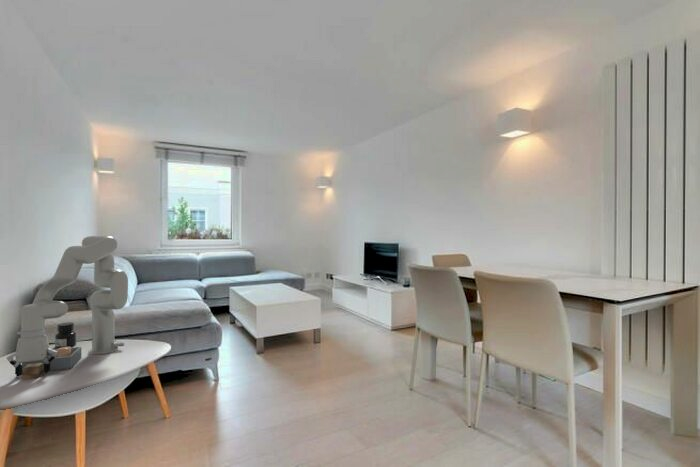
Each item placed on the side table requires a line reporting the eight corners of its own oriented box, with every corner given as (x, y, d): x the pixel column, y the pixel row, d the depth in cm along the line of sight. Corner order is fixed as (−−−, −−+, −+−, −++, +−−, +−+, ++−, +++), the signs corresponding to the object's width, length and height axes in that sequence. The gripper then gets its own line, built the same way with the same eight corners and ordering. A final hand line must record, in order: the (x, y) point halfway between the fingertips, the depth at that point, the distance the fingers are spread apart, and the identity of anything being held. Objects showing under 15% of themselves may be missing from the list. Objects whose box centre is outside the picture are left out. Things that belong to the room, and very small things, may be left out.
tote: (81, 358, 172) (81, 346, 172) (71, 368, 159) (71, 356, 159) (36, 362, 165) (36, 351, 165) (21, 374, 152) (21, 361, 152)
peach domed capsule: (72, 360, 167) (72, 346, 167) (68, 364, 162) (68, 349, 162) (59, 362, 165) (59, 347, 165) (55, 365, 160) (55, 350, 160)
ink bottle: (51, 347, 188) (51, 324, 188) (70, 342, 196) (70, 321, 196) (60, 349, 184) (60, 327, 184) (79, 345, 191) (79, 323, 191)
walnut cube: (43, 374, 153) (43, 362, 153) (38, 378, 148) (38, 366, 148) (28, 375, 151) (28, 364, 151) (23, 380, 146) (23, 368, 146)
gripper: (2, 338, 143) (1, 380, 143) (55, 333, 149) (54, 374, 149) (11, 333, 150) (11, 373, 150) (61, 329, 156) (61, 367, 156)
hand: (33, 373), depth 150 cm, fingers open, 8 cm apart
